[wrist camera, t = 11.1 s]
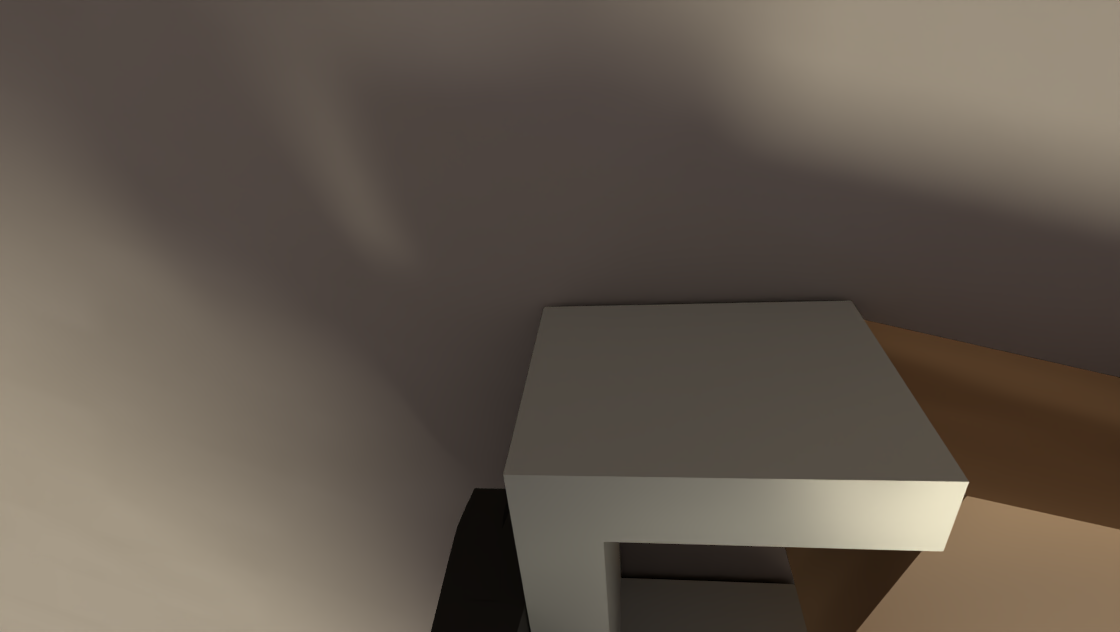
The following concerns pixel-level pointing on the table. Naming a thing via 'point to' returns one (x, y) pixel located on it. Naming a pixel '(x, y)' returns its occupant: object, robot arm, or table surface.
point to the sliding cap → (712, 457)
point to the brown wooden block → (993, 504)
